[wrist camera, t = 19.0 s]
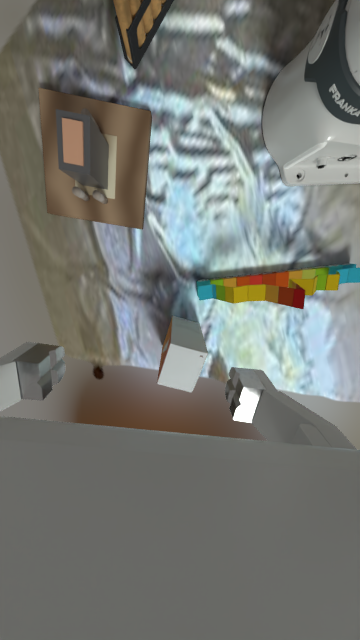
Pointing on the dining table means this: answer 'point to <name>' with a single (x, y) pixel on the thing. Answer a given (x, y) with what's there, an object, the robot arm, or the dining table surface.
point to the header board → (123, 165)
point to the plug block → (82, 149)
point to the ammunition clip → (138, 25)
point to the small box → (182, 355)
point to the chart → (278, 284)
